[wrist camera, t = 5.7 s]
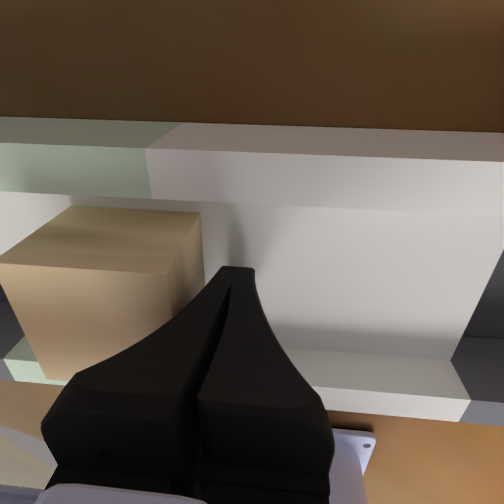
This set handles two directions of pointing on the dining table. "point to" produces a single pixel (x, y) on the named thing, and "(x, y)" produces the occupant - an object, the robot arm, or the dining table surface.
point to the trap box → (302, 242)
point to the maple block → (101, 281)
